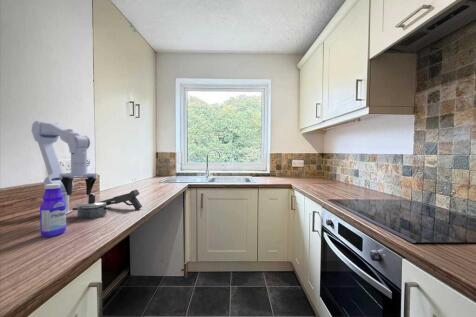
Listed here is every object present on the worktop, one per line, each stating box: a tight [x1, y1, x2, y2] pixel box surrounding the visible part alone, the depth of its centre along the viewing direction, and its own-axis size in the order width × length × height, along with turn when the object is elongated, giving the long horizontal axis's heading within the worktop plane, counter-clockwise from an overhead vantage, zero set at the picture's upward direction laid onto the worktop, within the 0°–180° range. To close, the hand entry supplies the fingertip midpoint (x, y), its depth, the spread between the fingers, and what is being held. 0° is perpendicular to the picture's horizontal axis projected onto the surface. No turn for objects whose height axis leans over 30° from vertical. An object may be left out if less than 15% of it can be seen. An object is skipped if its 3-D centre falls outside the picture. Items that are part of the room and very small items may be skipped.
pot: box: [71, 205, 112, 220], centre depth 109 cm, size 15×11×4 cm
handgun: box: [99, 189, 143, 211], centre depth 124 cm, size 4×24×10 cm, turn 80°
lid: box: [75, 193, 106, 209], centre depth 108 cm, size 12×12×6 cm
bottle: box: [39, 184, 67, 238], centre depth 84 cm, size 7×6×17 cm
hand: (79, 194), depth 105 cm, fingers open, 7 cm apart
